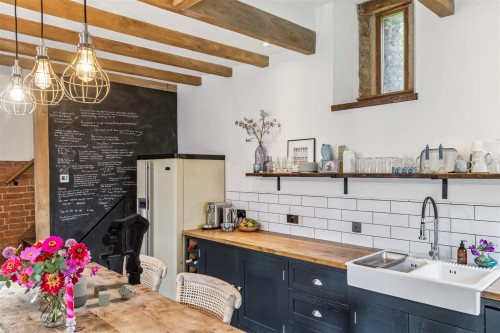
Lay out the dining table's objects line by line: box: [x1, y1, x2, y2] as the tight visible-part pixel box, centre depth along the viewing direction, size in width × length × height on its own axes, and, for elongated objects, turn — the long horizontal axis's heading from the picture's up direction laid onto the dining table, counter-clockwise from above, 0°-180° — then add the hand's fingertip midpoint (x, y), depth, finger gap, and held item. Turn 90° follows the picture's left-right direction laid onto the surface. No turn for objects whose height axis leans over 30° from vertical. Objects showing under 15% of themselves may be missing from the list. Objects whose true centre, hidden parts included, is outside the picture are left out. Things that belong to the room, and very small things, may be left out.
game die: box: [118, 283, 135, 301], centre depth 207 cm, size 9×8×10 cm
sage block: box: [98, 290, 110, 307], centre depth 199 cm, size 5×5×6 cm
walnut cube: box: [93, 284, 108, 299], centre depth 211 cm, size 5×5×5 cm
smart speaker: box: [73, 275, 88, 308], centre depth 196 cm, size 10×9×14 cm
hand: (117, 270), depth 217 cm, fingers open, 9 cm apart
